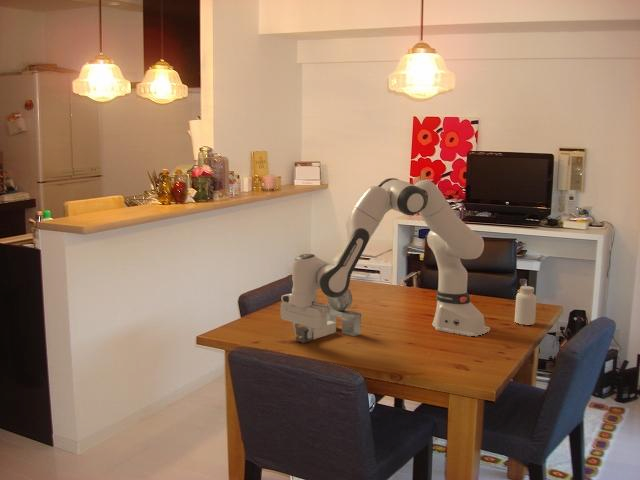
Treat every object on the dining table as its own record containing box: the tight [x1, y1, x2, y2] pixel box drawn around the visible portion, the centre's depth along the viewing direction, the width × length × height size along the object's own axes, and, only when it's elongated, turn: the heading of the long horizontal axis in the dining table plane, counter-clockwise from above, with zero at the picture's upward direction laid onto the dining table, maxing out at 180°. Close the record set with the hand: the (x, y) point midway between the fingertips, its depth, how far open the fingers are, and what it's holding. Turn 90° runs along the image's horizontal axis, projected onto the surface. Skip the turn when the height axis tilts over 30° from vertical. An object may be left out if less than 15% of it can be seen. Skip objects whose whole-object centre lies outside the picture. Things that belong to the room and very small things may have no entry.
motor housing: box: [323, 288, 362, 337], centre depth 274 cm, size 4×18×17 cm, turn 48°
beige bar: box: [294, 321, 337, 344], centre depth 265 cm, size 19×4×4 cm, turn 138°
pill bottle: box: [514, 285, 538, 325], centre depth 288 cm, size 8×8×15 cm
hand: (303, 336), depth 260 cm, fingers closed on beige bar, 4 cm apart
